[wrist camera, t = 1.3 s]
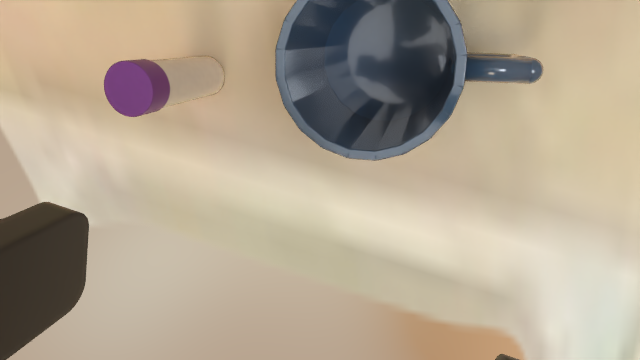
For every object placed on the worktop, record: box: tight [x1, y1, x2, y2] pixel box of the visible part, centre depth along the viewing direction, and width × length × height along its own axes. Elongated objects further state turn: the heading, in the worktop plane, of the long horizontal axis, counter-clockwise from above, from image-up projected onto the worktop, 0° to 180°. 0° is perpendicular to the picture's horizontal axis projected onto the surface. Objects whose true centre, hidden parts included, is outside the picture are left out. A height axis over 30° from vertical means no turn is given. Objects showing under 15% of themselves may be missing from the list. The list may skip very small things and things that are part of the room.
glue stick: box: [104, 56, 224, 117], centre depth 30 cm, size 3×3×9 cm
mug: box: [276, 0, 543, 161], centre depth 26 cm, size 13×9×10 cm
